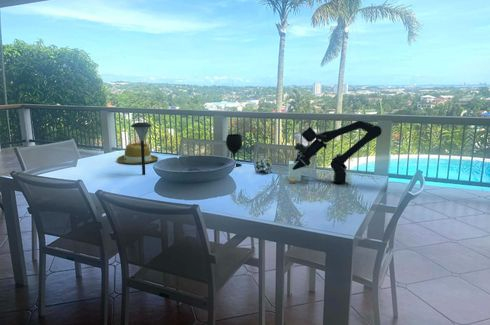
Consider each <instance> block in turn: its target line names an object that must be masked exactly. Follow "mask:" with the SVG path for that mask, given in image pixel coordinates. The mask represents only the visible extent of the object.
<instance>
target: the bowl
mask: <svg viewBox="0 0 490 325" xmlns="http://www.w3.org/2000/svg"><path fill="white" fill-rule="evenodd" d="M289 182H290V183H291V184H294V183H295V182H296V178H293V177H291V178H289Z"/></svg>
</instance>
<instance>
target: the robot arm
mask: <svg viewBox="0 0 490 325" xmlns="http://www.w3.org/2000/svg"><path fill="white" fill-rule="evenodd" d="M358 129H360V130H362V131H365V132H366V133H365V135H363V136H362V138H361V139H359V140H358V141H356V143H354V144H353V145H352V146H351V147H350V148H348V149H347V150H346V151H345V152H343V153H342V154H341V153H340V152H339V153H338V154H336V156H333V157H332V159H331V162H330V168H331V169H332V170H333V171H334V172H333V180H331V183H332V184H333V183H334V184H335V185H347V184H348V181H346V178H347V172H346V171H347V169H348V166H347V165H346V164H345V163H346V162H347V161H348V159H350V158H351V157H352V156H353V155H354V154H356V153H357V152H358V151H359V150H361V149H362V148H363V147H364V146H365V145H367V144H368V143H369V142H371V141H373V140H375V139H376V138H378V137H380V136H381V134H382V132H383V127H382V126H381V125H380V124H372V123H369V122H367V121H364V120H362V119H359V120H357V121H355V122H352V123H349V124H347V125H344V126H342V127H338V128H335V129H329V130H325V131H323V132H319V133H317V132H316V131H315V130H314V129H313V128H312V127H311V126H310V127H308V128H307V129H305V130H304V131H303V132H302V133H301V134H300V136H301V137H303V139H304V140H305V141H306V142H307V143H310V144H309V145H308V144H307V145H306V146H305V145H304V144H302V143H299V142H296V143H295V145H294V150H297V153H296V158H295V160H294V161H298V162H297V163H296V165H295V166H294V167H293V168H292V169H293V170H296V169H298V168H301V169H302V168H305V167H308V166H309V165H311V159H312V158H313V157H314V156H316V155H317V153H318V152H320V151H321V149H322V148H324V149H325V150H326V149H328V148H327V147H328V143H329V142H330V141H333V140H335V139H336V138H338V137H339V136H342V135H345V134H348V133H350V132H352V131H355V130H358Z"/></svg>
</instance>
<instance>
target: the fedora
mask: <svg viewBox="0 0 490 325" xmlns="http://www.w3.org/2000/svg"><path fill="white" fill-rule="evenodd" d="M150 149H151V148H150V146H149V145H148V143H145V142H144V155H145V165H146V164H150V163H153V162H156V161H157V160H158V159H159V157H158V156H157V155H152V154H151V150H150ZM116 161H117V162H119V163H121V164H127V165H142V158H141V142H135V143H134V142H133V143H128V144H127V145H126V148H125V150H124V154H122V155H119V156H118V157H117V158H116Z"/></svg>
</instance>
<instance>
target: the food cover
mask: <svg viewBox="0 0 490 325" xmlns="http://www.w3.org/2000/svg"><path fill="white" fill-rule="evenodd" d="M297 162H298V161H295V160H293V161H292V160H289V161H288V175H287V176H288V179H289V178H291V177H293V178H296V181H301V177H302V168H298V169H296V170H293V169H292V168H293V167H294V166H295V165H296V163H297Z"/></svg>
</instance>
